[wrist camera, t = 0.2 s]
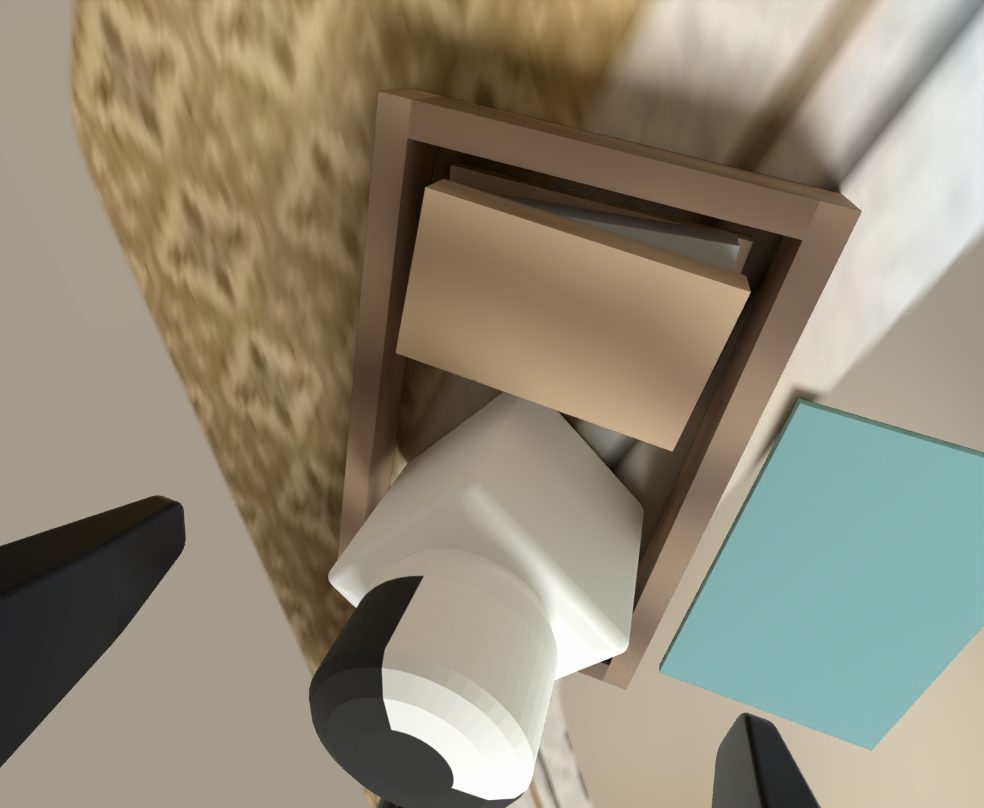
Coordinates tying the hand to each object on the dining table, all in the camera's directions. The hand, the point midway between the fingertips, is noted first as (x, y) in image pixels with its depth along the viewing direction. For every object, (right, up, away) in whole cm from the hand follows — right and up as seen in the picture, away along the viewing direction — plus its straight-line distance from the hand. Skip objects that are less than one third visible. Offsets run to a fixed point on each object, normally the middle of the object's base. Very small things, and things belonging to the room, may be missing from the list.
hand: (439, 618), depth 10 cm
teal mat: (+14, -4, +14) cm, 20 cm away
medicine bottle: (+2, 0, +16) cm, 16 cm away
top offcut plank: (+3, +6, +10) cm, 12 cm away
